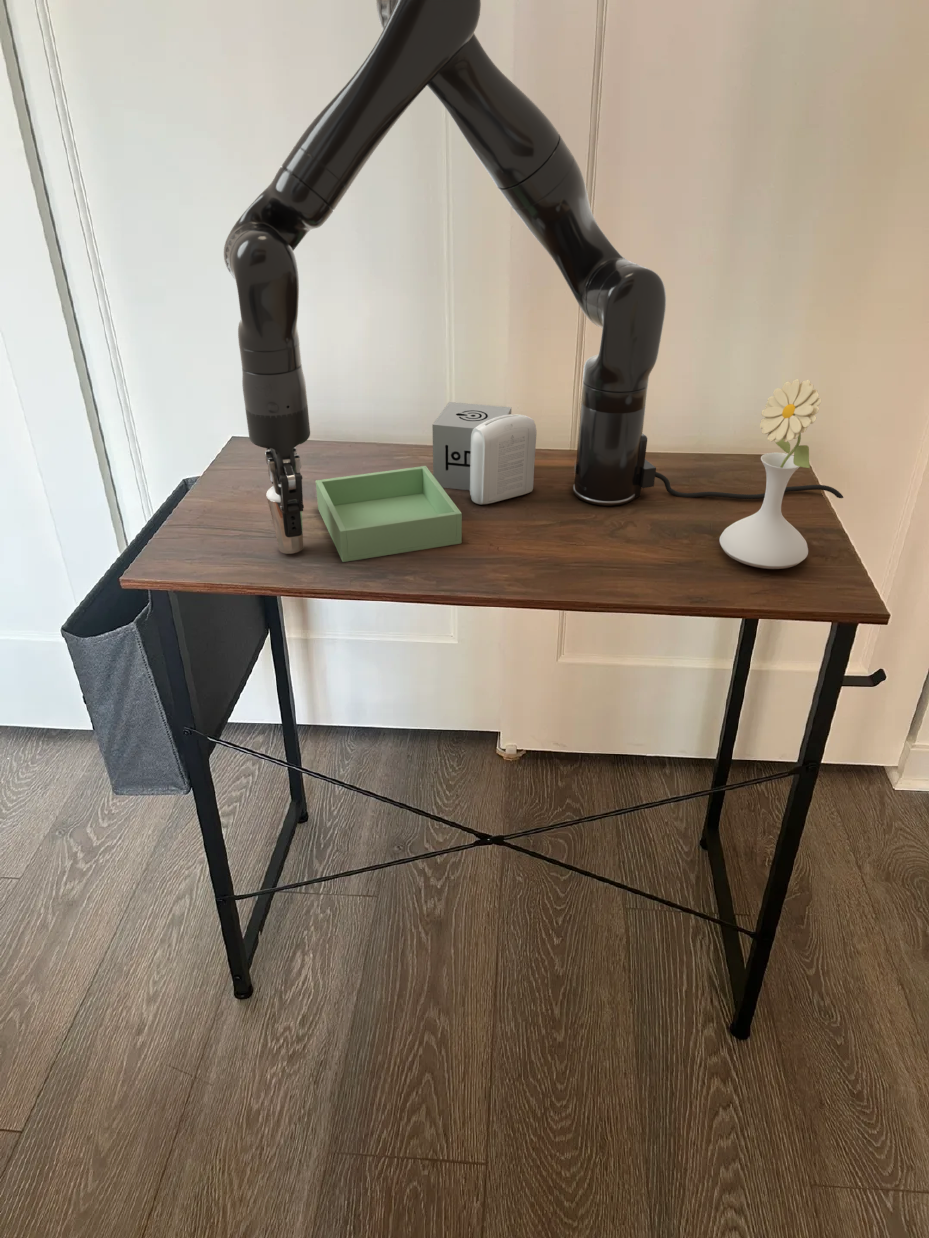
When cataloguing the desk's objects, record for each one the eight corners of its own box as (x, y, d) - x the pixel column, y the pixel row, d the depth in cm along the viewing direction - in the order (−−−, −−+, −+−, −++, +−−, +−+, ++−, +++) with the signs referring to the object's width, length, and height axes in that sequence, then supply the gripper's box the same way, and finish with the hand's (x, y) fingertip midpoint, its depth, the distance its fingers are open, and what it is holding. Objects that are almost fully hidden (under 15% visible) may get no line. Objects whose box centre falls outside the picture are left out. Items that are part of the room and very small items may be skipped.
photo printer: (521, 482, 139) (524, 405, 132) (537, 492, 136) (541, 414, 129) (465, 498, 134) (465, 419, 127) (481, 509, 131) (482, 428, 124)
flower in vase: (709, 535, 125) (741, 356, 111) (792, 536, 125) (833, 358, 111) (730, 583, 114) (767, 392, 100) (820, 585, 114) (870, 393, 100)
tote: (426, 493, 136) (426, 465, 133) (461, 543, 123) (461, 513, 120) (318, 509, 131) (315, 480, 129) (342, 562, 118) (340, 531, 115)
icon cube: (433, 486, 138) (432, 424, 132) (449, 461, 146) (448, 401, 141) (497, 493, 136) (498, 430, 130) (509, 467, 144) (511, 407, 139)
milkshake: (316, 540, 122) (309, 472, 117) (298, 558, 118) (289, 488, 112) (287, 536, 123) (278, 468, 118) (267, 553, 119) (257, 483, 114)
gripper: (317, 418, 105) (329, 547, 114) (296, 381, 116) (308, 501, 125) (253, 426, 103) (270, 556, 112) (237, 387, 114) (254, 508, 123)
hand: (290, 526), depth 119 cm, fingers closed on milkshake, 4 cm apart
